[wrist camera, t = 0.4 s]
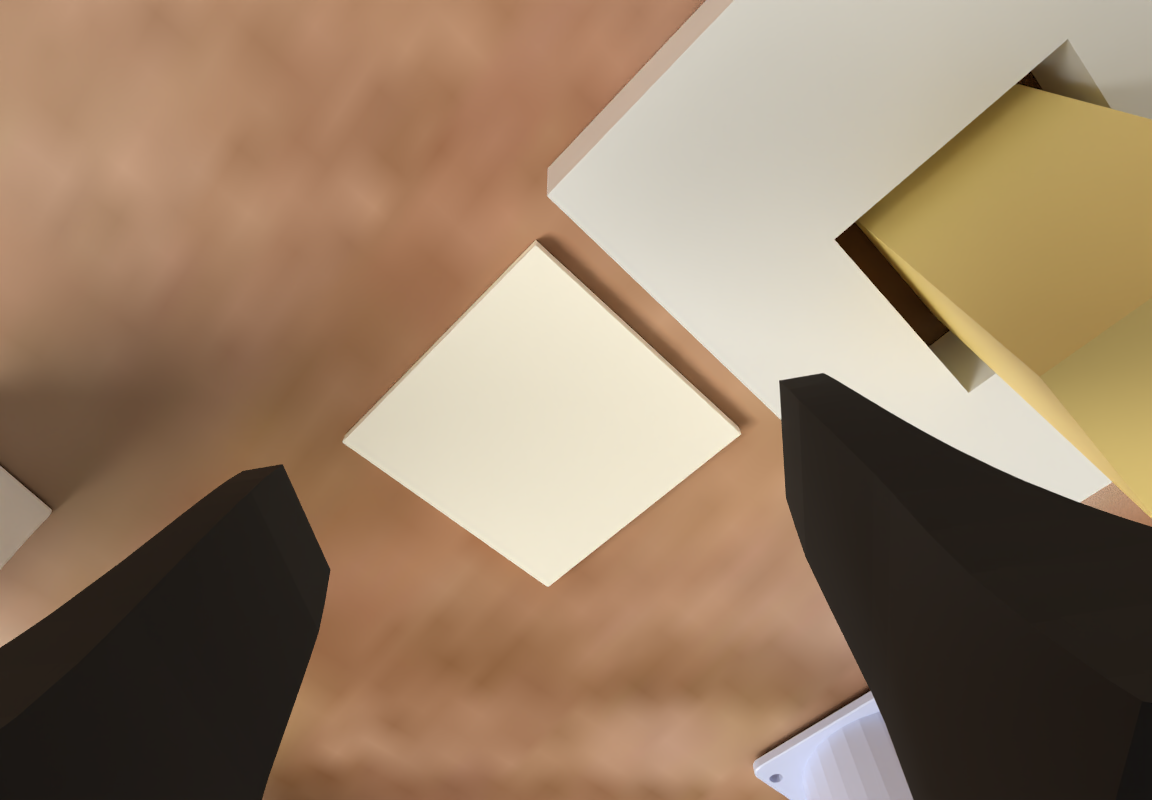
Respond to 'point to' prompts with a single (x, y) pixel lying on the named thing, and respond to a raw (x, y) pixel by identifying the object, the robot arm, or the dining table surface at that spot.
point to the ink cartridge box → (17, 515)
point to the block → (1043, 264)
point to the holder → (833, 187)
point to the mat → (541, 421)
